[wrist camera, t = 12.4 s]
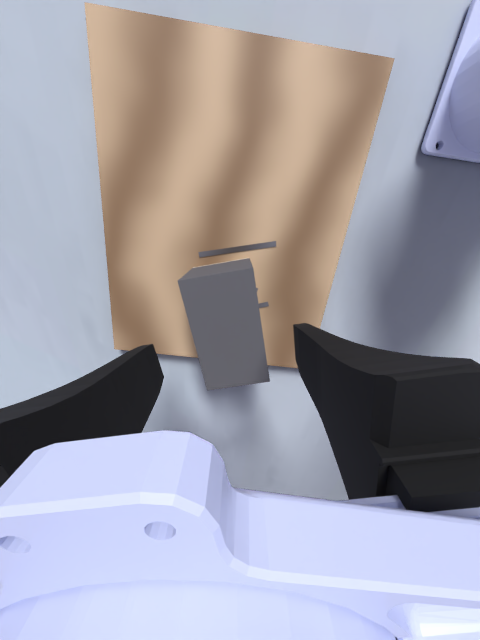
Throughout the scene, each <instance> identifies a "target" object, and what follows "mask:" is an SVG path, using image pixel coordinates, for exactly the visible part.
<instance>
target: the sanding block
mask: <svg viewBox="0 0 480 640" xmlns="http://www.w3.org/2000/svg"><path fill="white" fill-rule="evenodd" d="M178 285H179V289H180V292H181V296H182V300H183V303H184V307H185V311H186V314H187V318H188V322H189V325H190V329H191V333H192V336H193V340H194V344H195V347H196V351H197V355H198V358H199V362H200V366H201V369H202V373H203V377H204V380H205V384H206V388H207V390H214V389H221V388H228V387H235V386H242V385H249V384H256V383H263V382H269V381H270V379H269V372H268V365H267V359H266V352H265V345H264V338H263V331H262V324H261V317H260V310H259V304H258V297H257V290H256V283H255V276H254V269H253V266H252V263H251V261H250V258H244V259H239V260H233V261H227V262H221V263H216V264H210V265H204V266H198V267H193V268H192V269H191V270H189V271H188V272H187V273H186V274H185V275H184V276H182V277H181V278H180V279H179V280H178Z"/></svg>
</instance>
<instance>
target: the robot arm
mask: <svg viewBox="0 0 480 640" xmlns="http://www.w3.org/2000/svg"><path fill="white" fill-rule="evenodd" d="M436 143H438V144H439V148H438V149H436ZM421 149H422V152H423V153H424V154H427V155H433V156H440V157H446V158H452V159H458V160H465V161H471V162H477V163H480V0H472V1H471V4H470V7H469V10H468V13H467V16H466V19H465V21H464V24H463V27H462V30H461V33H460V36H459V39H458V42H457V45H456V48H455V50H454V53H453V56H452V59H451V62H450V65H449V68H448V71H447V74H446V76H445V79H444V82H443V85H442V88H441V91H440V94H439V97H438V100H437V103H436V105H435V108H434V111H433V114H432V117H431V120H430V123H429V126H428V129H427V131H426V134H425V137H424V140H423V143H422V147H421ZM293 331H294V345H295V360H296V363H297V366H298V369H299V372H300V375H301V378H302V380H303V382H304V384H305V386H306V388H307V390H308V392H309V394H310V396H311V398H312V400H313V402H314V404H315V406H316V408H317V410H318V412H319V415H320V417H321V419H322V422H323V424H324V427H325V430H326V433H327V435H328V438H329V441H330V444H331V447H332V450H333V452H334V455H335V458H336V461H337V464H338V467H339V470H340V473H341V476H342V479H343V482H344V485H345V488H346V491H347V494H348V498H349V500H340V501H334V500H326V499H319V498H311V497H303V496H295V495H287V494H280V493H272V492H264V491H256V490H249V489H241V488H233V487H232V486H231V484H230V482H229V480H228V476H227V472H226V468H225V464H224V461H223V459H222V458H221V456H220V455H219V453H218V452H217V450H216V449H215V447H214V446H213V444H212V443H210V442H208V441H206V440H204V439H202V438H200V437H199V436H197V435H195V434H193V433H191V432H184V431H171V430H163V431H154V432H146V433H142V431H143V428H144V426H145V424H146V422H147V420H148V418H149V415H150V413H151V411H152V409H153V407H154V404H155V402H156V400H157V398H158V395H159V393H160V390H161V386H162V382H163V379H164V376H163V373H162V369H161V366H160V363H159V360H158V357H157V354H156V351H155V348H154V345H153V344H149V345H142V346H139V347H137V348H134V349H132V350H130V351H129V352H127V353H125V354H123V355H121V356H120V357H118V358H116V359H114V360H113V361H111V362H109V363H107V364H106V365H104V366H102V367H100V368H98V369H96V370H94V371H93V372H91V373H89V374H87V375H85V376H83V377H81V378H79V379H77V380H75V381H73V382H70V383H68V384H66V385H64V386H62V387H59V388H57V389H54V390H52V391H49V392H47V393H44V394H42V395H39V396H36V397H34V398H31V399H29V400H26V401H23V402H20V403H17V404H14V405H11V406H8V407H5V408H2V409H0V640H480V364H479V363H477V362H475V361H474V360H472V359H466V358H448V357H430V356H421V355H412V354H404V353H397V352H392V351H387V350H381V349H377V348H372V347H368V346H365V345H361V344H357V343H354V342H351V341H348V340H345V339H343V338H340V337H337V336H335V335H333V334H330V333H328V332H326V331H323V330H321V329H319V328H317V327H315V326H312V325H310V324H308V323H301V324H294V325H293Z"/></svg>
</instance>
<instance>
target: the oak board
mask: <svg viewBox="0 0 480 640" xmlns="http://www.w3.org/2000/svg"><path fill="white" fill-rule="evenodd" d="M85 13H86V24H87V36H88V47H89V59H90V70H91V82H92V94H93V105H94V117H95V128H96V140H97V152H98V163H99V175H100V186H101V198H102V210H103V221H104V233H105V244H106V256H107V268H108V279H109V291H110V302H111V314H112V325H113V337H114V349H118V350H128V351H130V350H132V349H134V348H137V347H139V346H142V345H149V344H153V345H154V348H155V351H156V353H157V354H166V355H176V356H186V357H195V358H198V355H197V351H196V347H195V344H194V340H193V336H192V333H191V329H190V325H189V322H188V318H187V314H186V311H185V307H184V303H183V300H182V296H181V292H180V289H179V285H178V280H179V279H180V278H181V277H182V276H184V275H185V274H186V273H187V272H188V271H189V270H191V269H192V268H193V267H198V266H204V265H210V264H216V263H221V262H227V261H233V260H239V259H244V258H250V261H251V263H252V266H253V269H254V276H255V283H256V290H257V297H258V304H259V310H260V317H261V324H262V331H263V338H264V345H265V352H266V359H267V365H272V366H281V367H291V368H298V366H297V363H296V360H295V345H294V331H293V325H294V324H301V323H308V324H310V325H312V326H315V327H317V328H319V329H320V325H321V322H322V318H323V315H324V311H325V307H326V304H327V300H328V297H329V293H330V289H331V286H332V282H333V278H334V275H335V271H336V268H337V264H338V260H339V257H340V253H341V250H342V246H343V242H344V239H345V235H346V232H347V228H348V224H349V221H350V217H351V214H352V210H353V206H354V203H355V199H356V196H357V192H358V188H359V185H360V181H361V177H362V174H363V170H364V167H365V163H366V159H367V156H368V152H369V149H370V145H371V141H372V138H373V134H374V131H375V127H376V123H377V120H378V116H379V113H380V109H381V105H382V102H383V98H384V95H385V91H386V87H387V84H388V80H389V76H390V73H391V69H392V66H393V62H394V58H389V57H383V56H378V55H372V54H367V53H361V52H356V51H350V50H345V49H339V48H334V47H328V46H322V45H317V44H311V43H306V42H300V41H295V40H289V39H284V38H278V37H273V36H267V35H262V34H256V33H251V32H245V31H240V30H234V29H229V28H223V27H218V26H212V25H207V24H201V23H196V22H190V21H185V20H179V19H174V18H168V17H163V16H157V15H152V14H146V13H141V12H135V11H130V10H124V9H119V8H113V7H108V6H102V5H97V4H91V3H86V2H85Z"/></svg>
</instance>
